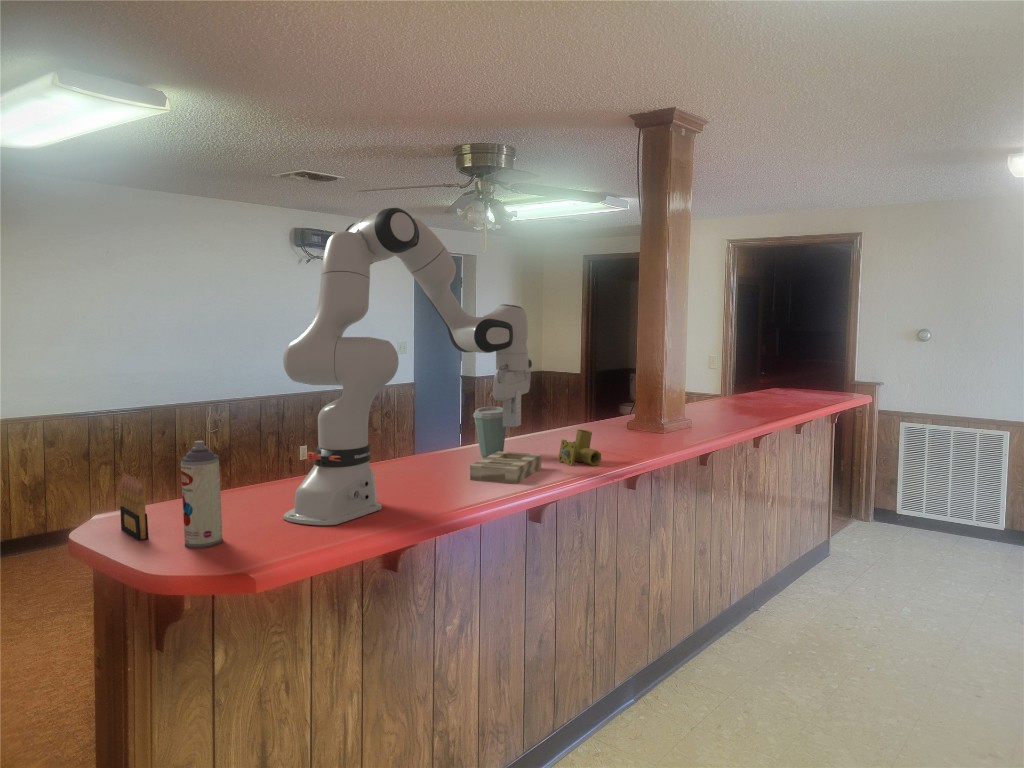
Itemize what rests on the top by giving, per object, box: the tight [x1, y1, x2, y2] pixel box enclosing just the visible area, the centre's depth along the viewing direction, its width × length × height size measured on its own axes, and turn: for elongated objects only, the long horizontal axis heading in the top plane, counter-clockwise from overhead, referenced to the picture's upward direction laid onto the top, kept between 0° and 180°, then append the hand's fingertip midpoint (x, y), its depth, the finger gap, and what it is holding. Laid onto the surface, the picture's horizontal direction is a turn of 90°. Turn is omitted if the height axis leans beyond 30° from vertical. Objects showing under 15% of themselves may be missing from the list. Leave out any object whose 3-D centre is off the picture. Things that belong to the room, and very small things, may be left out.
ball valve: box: [558, 428, 602, 467], centre depth 215 cm, size 13×10×10 cm
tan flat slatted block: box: [469, 451, 542, 485], centre depth 201 cm, size 20×13×4 cm, turn 159°
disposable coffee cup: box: [472, 406, 507, 459], centre depth 223 cm, size 11×11×15 cm
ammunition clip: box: [119, 472, 150, 542], centre depth 147 cm, size 11×2×12 cm, turn 45°
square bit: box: [502, 390, 522, 428], centre depth 204 cm, size 4×4×10 cm
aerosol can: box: [180, 440, 224, 549], centre depth 141 cm, size 7×7×20 cm
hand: (512, 412), depth 204 cm, fingers closed on square bit, 4 cm apart
